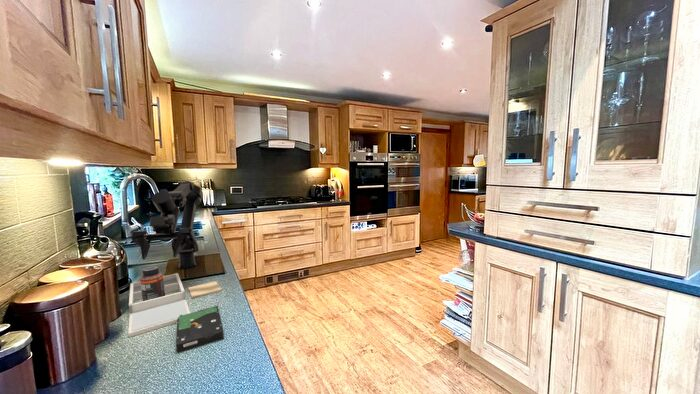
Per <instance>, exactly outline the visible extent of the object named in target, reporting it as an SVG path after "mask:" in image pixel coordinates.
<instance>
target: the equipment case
mask: <svg viewBox="0 0 700 394" xmlns="http://www.w3.org/2000/svg"><path fill="white" fill-rule="evenodd" d="M179 275H180V274H179V273H178V272H175V273H172V274H166V275H163V282H164V290H165V296H162V297H158V298H154V299H150V300H146V301H143V299H142V291H141V282H140V280H139V281H134V282H130V285H129V299H128V309H129V320H128V332H127V334H128V338H131V337H134V336H138V335H142V334H144V333H148V332H151V331H154V330H158V329H161V328H163V327H168V326H170V325H174V324H177V319H178V317H179V316H180V315H186V314H189V313H191V311H190V308H189V306H188V303H187V299H186V291H185V289H184V285H183V283H182V280H181V278H180V276H179ZM175 291H178V292H175ZM171 292H175V293H171ZM167 293H171V294H167ZM138 300H142V301H138ZM135 301H138V302H135Z"/></svg>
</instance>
